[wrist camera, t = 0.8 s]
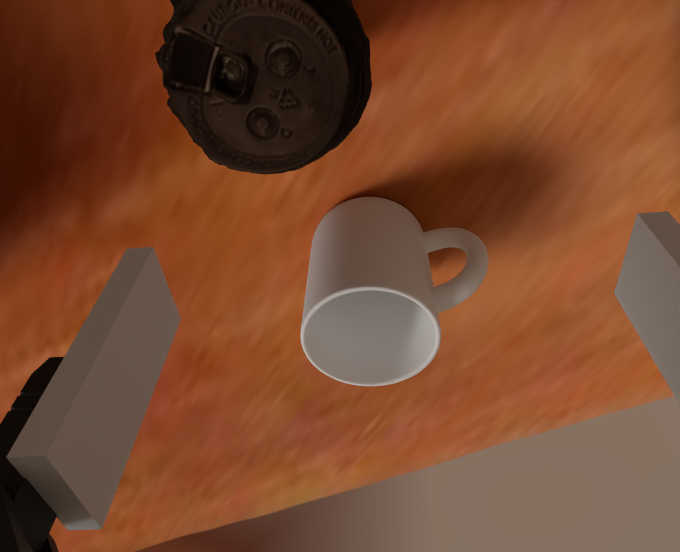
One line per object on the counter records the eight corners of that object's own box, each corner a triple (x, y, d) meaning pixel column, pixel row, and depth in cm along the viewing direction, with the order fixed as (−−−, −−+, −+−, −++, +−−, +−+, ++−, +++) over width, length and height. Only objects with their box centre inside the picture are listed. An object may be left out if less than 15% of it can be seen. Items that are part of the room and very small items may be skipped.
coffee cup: (184, -29, 29) (87, 35, 19) (316, -124, 26) (286, -110, 16) (274, 109, 33) (236, 221, 23) (394, 41, 31) (410, 134, 20)
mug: (458, 157, 35) (488, 248, 27) (486, 252, 40) (518, 354, 32) (294, 213, 38) (276, 310, 30) (338, 295, 43) (332, 398, 35)
